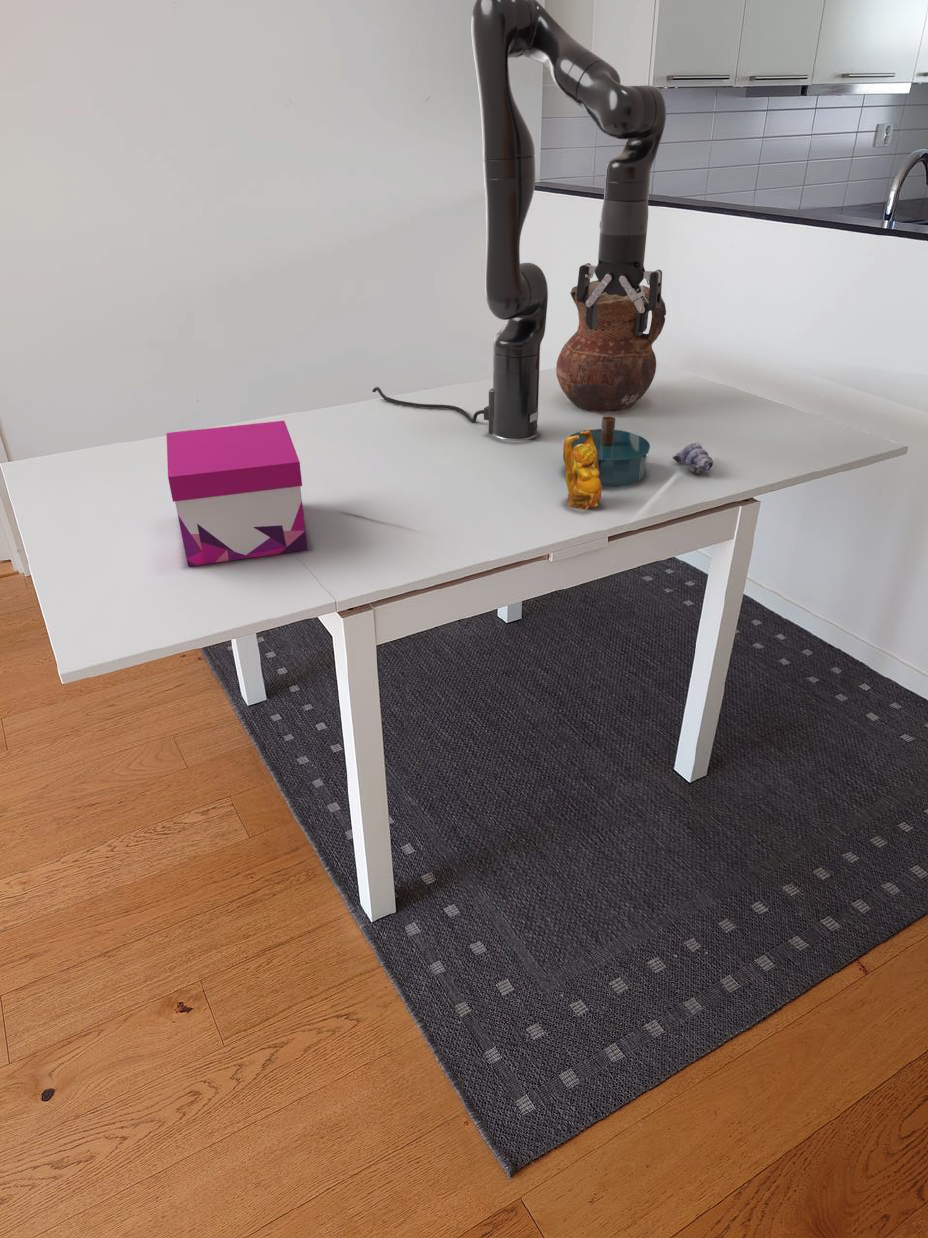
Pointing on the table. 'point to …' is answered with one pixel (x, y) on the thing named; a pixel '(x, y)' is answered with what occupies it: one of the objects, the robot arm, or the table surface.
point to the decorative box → (236, 492)
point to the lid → (615, 443)
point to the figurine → (582, 472)
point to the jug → (609, 355)
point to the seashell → (694, 458)
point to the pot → (621, 472)
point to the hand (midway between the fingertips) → (615, 331)
